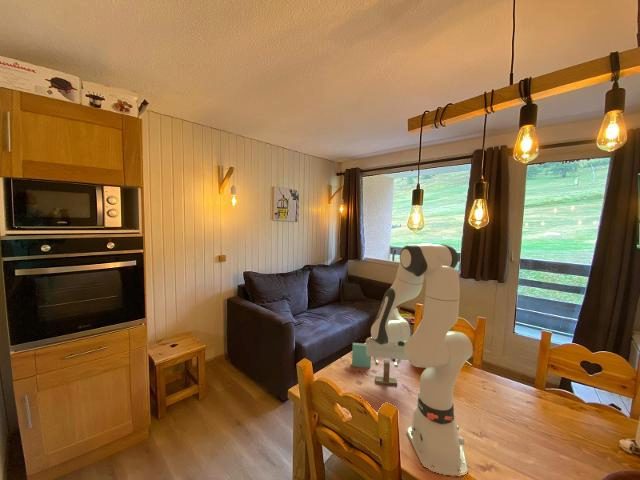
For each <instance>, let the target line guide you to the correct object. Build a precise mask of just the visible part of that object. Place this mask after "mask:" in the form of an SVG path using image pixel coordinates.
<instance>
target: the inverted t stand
mask: <svg viewBox="0 0 640 480" xmlns="http://www.w3.org/2000/svg"><path fill="white" fill-rule="evenodd" d="M390 367H391V364H390V360H383V375H382V376H379V375H376V376H374V377H375V384H377V385H383V386H384V385H385V386H395V387H398V382H397V381H398V380H397V378H396V377H390Z"/></svg>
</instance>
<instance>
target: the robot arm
mask: <svg viewBox="0 0 640 480" xmlns="http://www.w3.org/2000/svg"><path fill="white" fill-rule="evenodd" d="M458 261H459V254H458V252H457V250H456V249H455V248H454V247H453V246H451V245H448V244H443V243H442V244H436V243H428V242H427V243H417V244H416V243H412V244H407V245H405V246H403V247H402V249H401V250H400V254H399V262H400V263H399V266H398V268H397V271H396V275H395V276H396V277H395V279H394V282H393V283H392V285H391V286H390V288H388V289H387V290H386V291H385V293H384V295H383V298H382V300H381V304H380V306H379V309H378V311H377V313H376V317H375V319H374V321H373V322H372V324H371V327H370V336H369V337H367V338H366V339H365V344H366V345H367V347H366V354H367V356H370V357H371V358H372V359H373V361H374V365H375V366H379V360H377V358H380V359H381V358H382V359H391V360H392V359H395V360H397V361H396V362H395V361H394V368H399V365H400V363H401V361H408V362H409V363H410V364H411V365H412V366H413V367H416V368H422V369H423V368H425V369H424V370H423V371H422V373H421V375H420V379H419V393H418V396H417V407H416V408H415V409H414V410H413V411H412V417H411V418H412V419H411V426H410V427H408V428H407V429H406V434H407V435H408V439H409V441H410V443H411V444H412V447H413V448H414V449H413V450H414V451H415V453H416V455H417V457H418V459H419V461H420V463H422V464H423V465H422V464H421V465H422V467H423V466H424V467H426V468H428V469H430V470H431V471H430V470H429V471H430V472H432V471H433V472H432V473H434V472H436V473H435V474H437V473H439V474H438V475H441V474H443V475H442V476H446V475H460V474H462V473H464V472H465V473H466V472H468V473H469V469H468V464H467V460H466V455H465V450H464V446H465V445H464V444H465V441H464V437H462V436H460V435H459V433H458V431H460V426H459V425H458V424H457V423H456V416H455V407H454V403H453V402H454V391H455V390H454V389H455V384H456V381H457V378H458V376H459V373H460V371H461V370H462V368H463V366H464V365H465V363H466V362H467V361H468V360H469V359H470V358H471V357H472V355H473V352H474V349H473V348H474V347H473V344H472V342H471V340H470V338H469V337H468V335H466V334H465V333H464V332H460V331H454V330H451V329H452V328H453V326H455V325H456V324H457V322H458V320H459V313H460V311H459V310H460V297H461V294H460V293H461V291H460V289H461V288H460V287H461V286H460V278H459V277H460V276H459V272H458V271H457V270H456V269H455V268H456V267H457V265H458ZM424 281H426V282H425V293H424V294H425V295H424V306H423V314H422V318H421V319H420V323H419V325H418V326H417V328H416V330H415V331H414V332H413V328H412V324H411V323H410V322H409V321H408V320H407V319H405V318H403V316H402V315H401V314H400V312H399V309H398V306H399V305H401V304H403V303H406V302H408V301H411V300H414V299H415V298H417V297H418V296H419V294H420V293H421V291H422V289H423V285H424ZM412 332H413V333H412ZM432 467H433V468H432ZM426 468H425V469H426ZM428 469H427V470H428ZM459 471H460V472H459Z"/></svg>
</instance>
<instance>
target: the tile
mask: <svg viewBox="0 0 640 480" xmlns="http://www.w3.org/2000/svg"><path fill="white" fill-rule="evenodd" d="M366 347H367V345H366V343H361V342H360V343H359V342H352V349H351V350H352V355H351V367H358V368H370V369H371V367H372V361H371V360H372V357H370V356H367V354H366Z"/></svg>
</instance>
